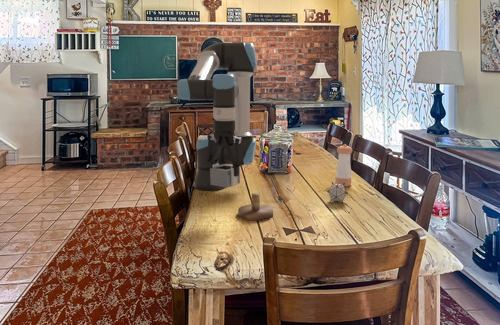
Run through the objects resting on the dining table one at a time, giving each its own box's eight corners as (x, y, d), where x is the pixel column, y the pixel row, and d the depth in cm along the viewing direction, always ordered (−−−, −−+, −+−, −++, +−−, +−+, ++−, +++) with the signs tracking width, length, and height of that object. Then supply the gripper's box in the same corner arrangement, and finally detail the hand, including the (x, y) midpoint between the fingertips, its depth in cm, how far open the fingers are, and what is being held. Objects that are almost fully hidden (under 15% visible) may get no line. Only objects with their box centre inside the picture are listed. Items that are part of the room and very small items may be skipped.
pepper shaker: (348, 187, 196) (350, 146, 192) (332, 185, 200) (334, 144, 196) (353, 183, 202) (355, 143, 198) (338, 181, 206) (340, 142, 202)
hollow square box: (210, 184, 152) (210, 168, 151) (223, 180, 158) (223, 164, 157) (227, 187, 148) (226, 171, 147) (239, 183, 154) (239, 166, 153)
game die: (331, 209, 177) (320, 188, 179) (349, 201, 178) (338, 180, 180) (336, 205, 168) (324, 183, 171) (355, 196, 169) (343, 174, 172)
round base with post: (231, 216, 157) (231, 195, 156) (250, 207, 168) (250, 187, 166) (261, 223, 150) (261, 201, 149) (279, 213, 161) (279, 192, 159)
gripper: (194, 118, 151) (196, 181, 156) (241, 122, 140) (242, 190, 144) (208, 116, 157) (209, 177, 162) (254, 120, 146) (254, 185, 150)
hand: (225, 183), depth 153 cm, fingers closed on hollow square box, 7 cm apart
